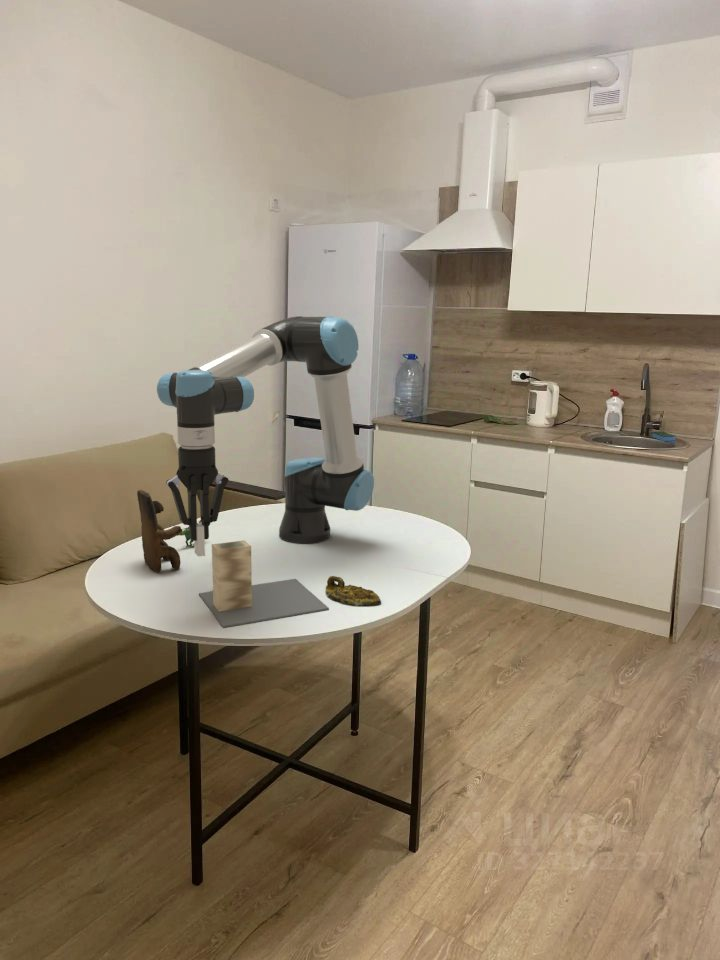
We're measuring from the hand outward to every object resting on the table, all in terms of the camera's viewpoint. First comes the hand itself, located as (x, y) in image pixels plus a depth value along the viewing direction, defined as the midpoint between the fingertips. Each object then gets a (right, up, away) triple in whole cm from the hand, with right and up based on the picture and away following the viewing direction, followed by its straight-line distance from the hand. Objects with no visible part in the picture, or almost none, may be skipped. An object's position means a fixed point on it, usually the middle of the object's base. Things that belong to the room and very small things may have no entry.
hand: (199, 554), depth 156 cm
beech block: (+6, -12, +6) cm, 15 cm away
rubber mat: (+12, -12, +9) cm, 19 cm away
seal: (+33, -12, +13) cm, 37 cm away
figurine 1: (-17, -6, +31) cm, 36 cm away
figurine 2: (-13, -3, +47) cm, 49 cm away
